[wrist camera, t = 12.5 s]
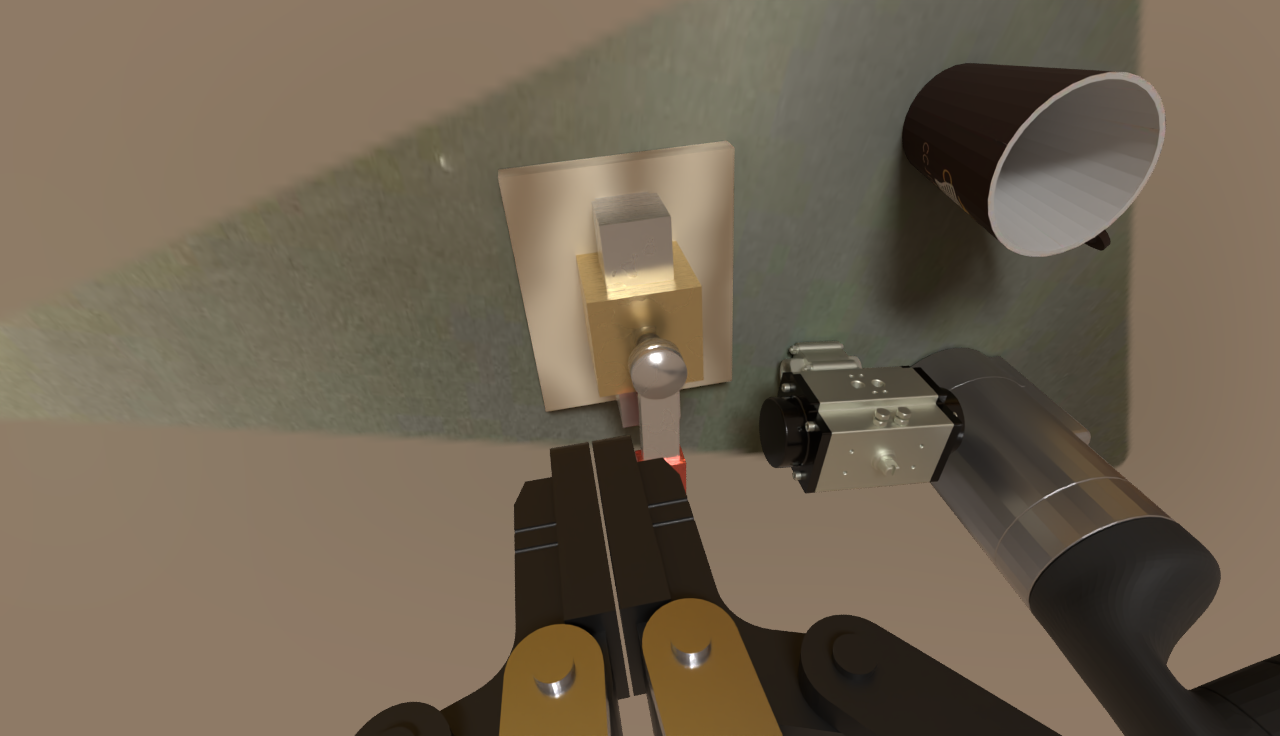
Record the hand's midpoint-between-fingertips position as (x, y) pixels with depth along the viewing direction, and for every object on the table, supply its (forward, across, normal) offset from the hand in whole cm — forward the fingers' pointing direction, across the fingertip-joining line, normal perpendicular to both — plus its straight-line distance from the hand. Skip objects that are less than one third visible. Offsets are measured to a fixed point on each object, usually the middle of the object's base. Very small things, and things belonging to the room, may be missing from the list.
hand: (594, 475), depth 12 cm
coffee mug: (+27, -25, +4) cm, 37 cm away
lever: (+18, -4, +15) cm, 24 cm away
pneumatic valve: (+27, -17, +18) cm, 37 cm away
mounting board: (+27, -4, +10) cm, 29 cm away
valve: (+26, -4, +10) cm, 28 cm away
